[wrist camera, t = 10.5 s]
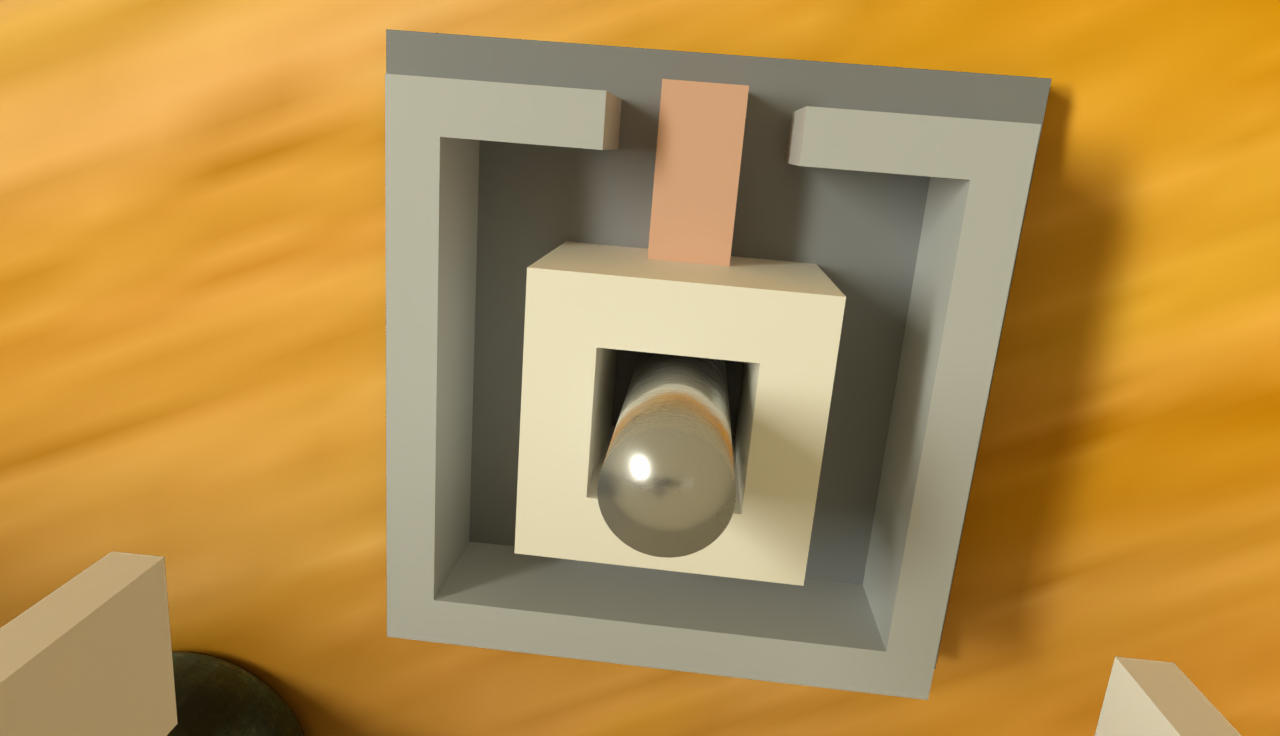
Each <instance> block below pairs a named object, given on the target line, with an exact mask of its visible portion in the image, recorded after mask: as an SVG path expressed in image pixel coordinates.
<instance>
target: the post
mask: <svg viewBox="0 0 1280 736" xmlns="http://www.w3.org/2000/svg"><path fill="white" fill-rule="evenodd" d="M597 497H598V504H599V508H600V511H601V514H602V516H603V518H604V520H605V522H606V524H607V525H608V527H609V528H610V530H611V531H612V532H613V533H614V535H616V536H617V537H618V538H619V539H620V540H621V541H622V542H623V543H625V544H626V545H627V546H629V547H631V548H633V549H634V550H636V551H639V552H641V553H644V554H647V555H650V556H656V557H664V558H673V557H681V556H686V555H690V554H693V553H696V552H698V551H700V550H702V549H704V548H705V547H707V546H709V545H710V544H711V543H713V542H714V541H715V540H716V539H717V538H718V537H719V536H720V535H721V534H722V533H723V531H724V530H725V529H726V527H727V526H728V524H729V522H730V520H731V518H732V515H733V512H734V508H735V502H736V488H735V475H734V462H733V449H732V436H731V423H730V409H729V396H728V383H727V371H726V364H725V360H720V359H710V358H699V357H689V356H679V355H668V354H658V353H648V352H641V354H640V356H639V358H638V361H637V364H636V367H635V370H634V373H633V376H632V379H631V382H630V385H629V388H628V391H627V394H626V397H625V400H624V403H623V406H622V409H621V412H620V415H619V418H618V421H617V424H616V427H615V430H614V433H613V436H612V439H611V442H610V445H609V448H608V451H607V454H606V457H605V460H604V463H603V466H602V469H601V472H600V476H599V479H598V486H597Z"/></svg>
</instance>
